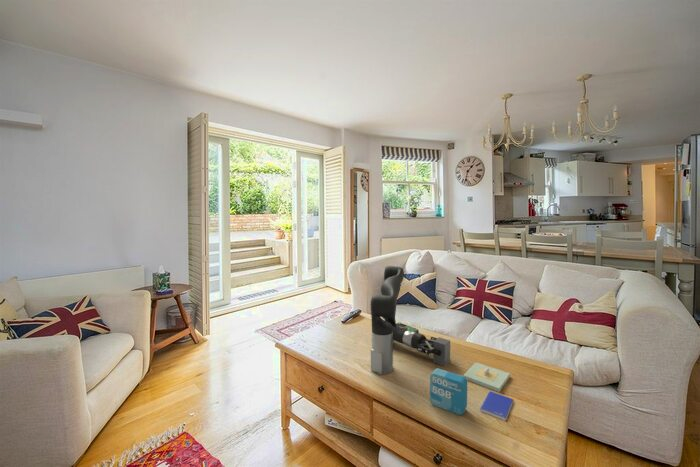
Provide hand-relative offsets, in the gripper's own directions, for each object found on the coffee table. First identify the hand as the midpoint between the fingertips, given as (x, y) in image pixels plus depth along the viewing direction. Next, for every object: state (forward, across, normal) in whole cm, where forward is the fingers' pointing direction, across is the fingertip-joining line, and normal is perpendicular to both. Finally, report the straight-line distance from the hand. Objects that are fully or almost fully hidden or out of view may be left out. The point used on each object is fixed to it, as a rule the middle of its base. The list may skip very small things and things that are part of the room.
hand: (445, 350), depth 137 cm
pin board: (+18, 0, +6) cm, 19 cm away
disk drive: (-34, +17, +7) cm, 39 cm away
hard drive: (+27, -16, +7) cm, 32 cm away
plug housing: (-2, 0, +6) cm, 6 cm away
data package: (+14, -28, +6) cm, 32 cm away
